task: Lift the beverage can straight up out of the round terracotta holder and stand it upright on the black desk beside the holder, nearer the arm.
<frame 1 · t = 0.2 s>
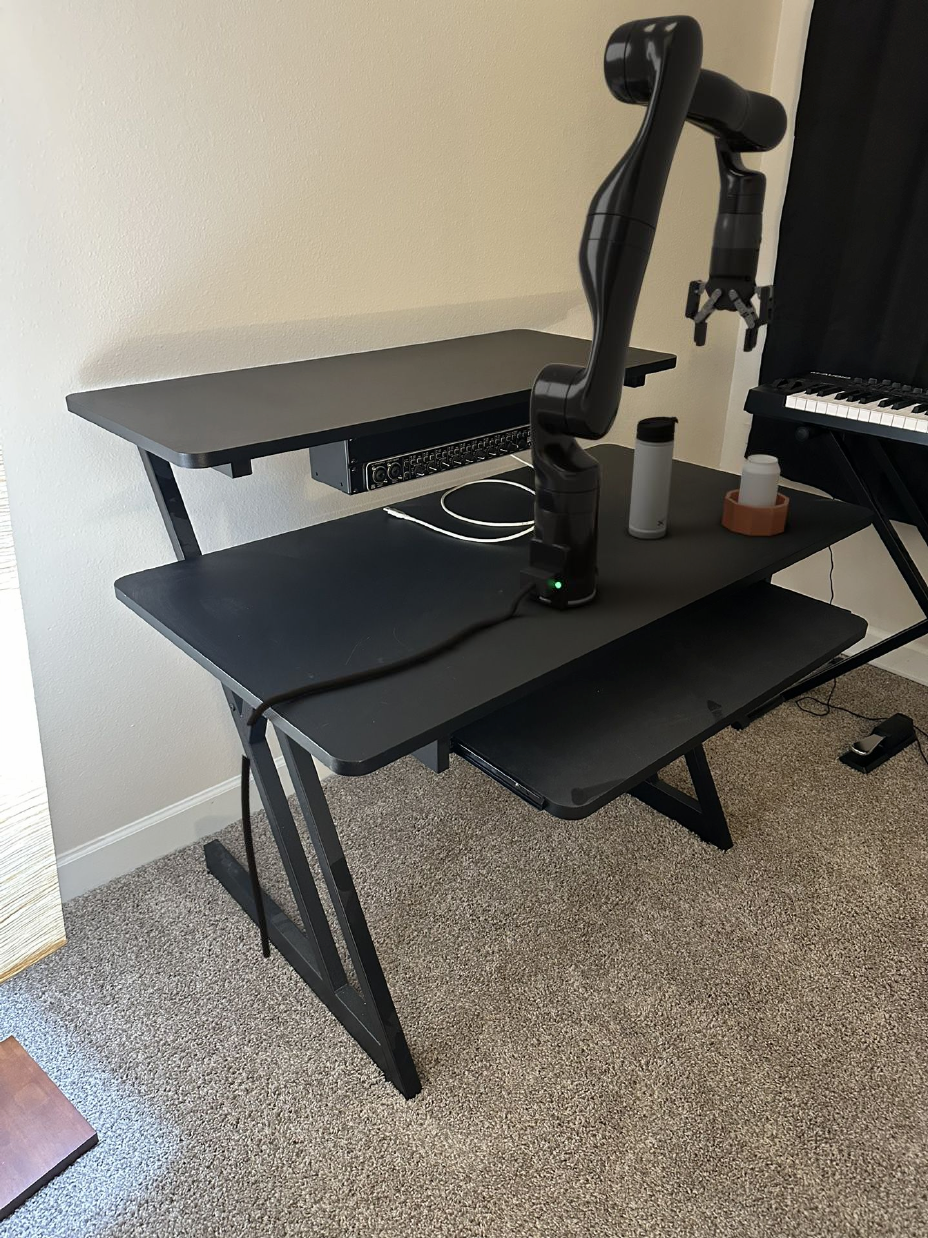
hand: (723, 348, 150), 29 cm above the table, tool pointing down, fingers open, 8 cm apart
beverage can: (753, 525, 158), resting in holder
holder: (753, 524, 158), on the table
travel mug: (647, 534, 155), on the table
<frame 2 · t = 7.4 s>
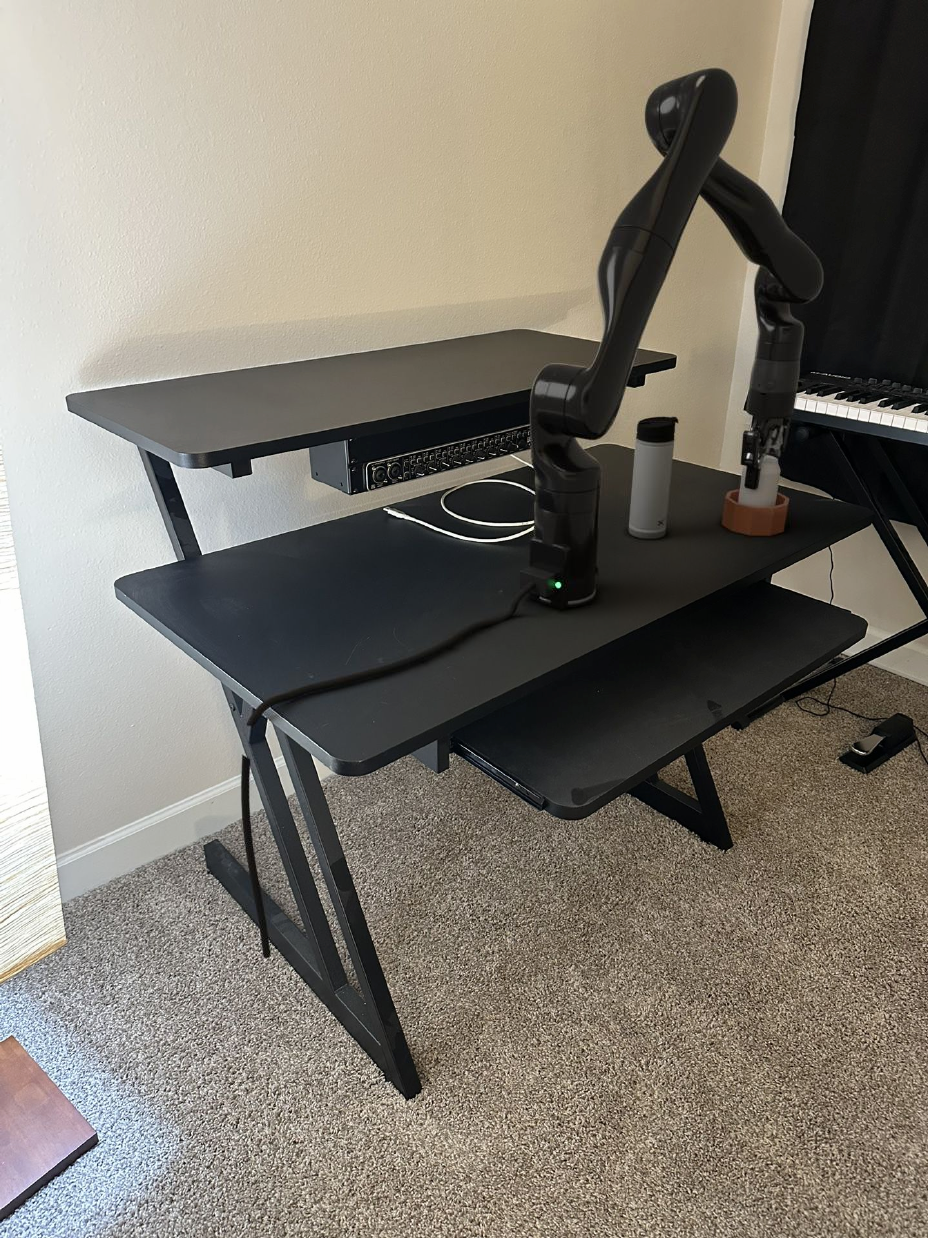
hand: (759, 483, 154), 8 cm above the table, tool pointing down, fingers closed on beverage can, 6 cm apart
beverage can: (753, 525, 158), resting in holder, touching gripper
everything else where it was.
when the fingers open (8 cm above the table, at t = 16.1 s): beverage can stays where it is, on the table.
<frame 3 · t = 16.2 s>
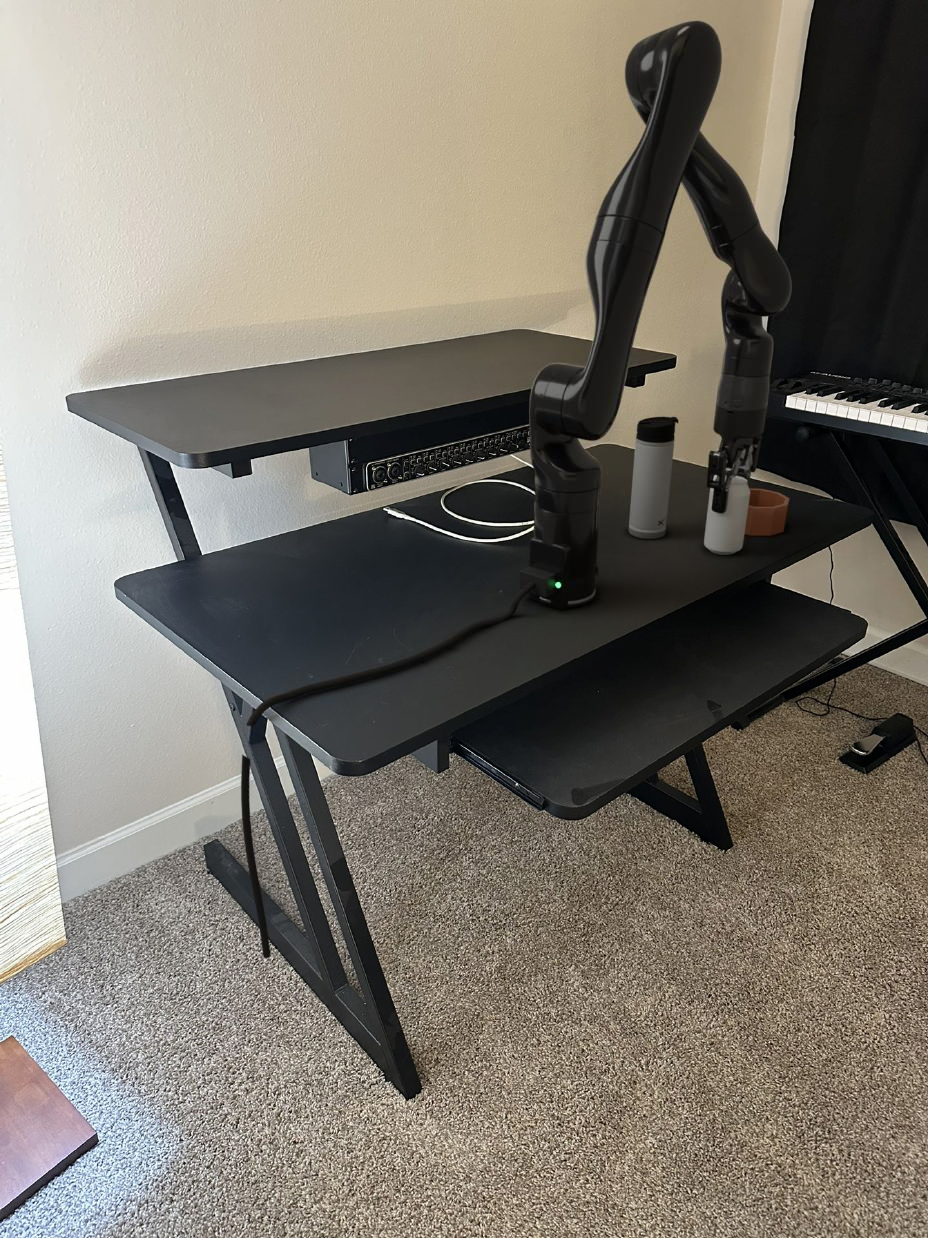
hand: (728, 505, 144), 8 cm above the table, tool pointing down, fingers open, 6 cm apart
beverage can: (722, 550, 148), on the table
everything else where it was.
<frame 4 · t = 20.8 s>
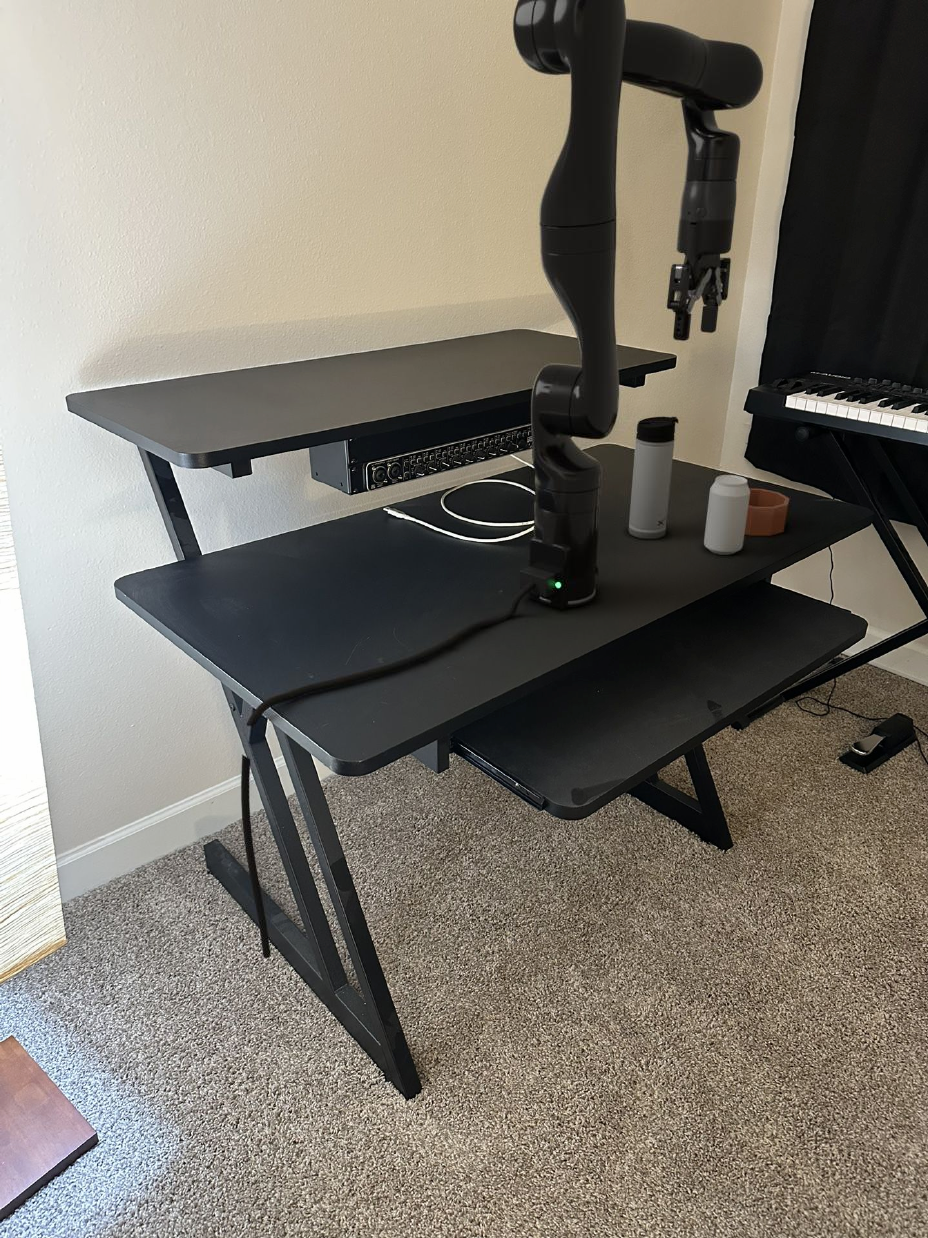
hand: (694, 335, 133), 34 cm above the table, tool pointing down, fingers open, 8 cm apart
nothing on the table moved.
at the end: beverage can inside the target area (0.1 cm from its centre), on the table; beverage can tilted 0°; the gripper is holding nothing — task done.
